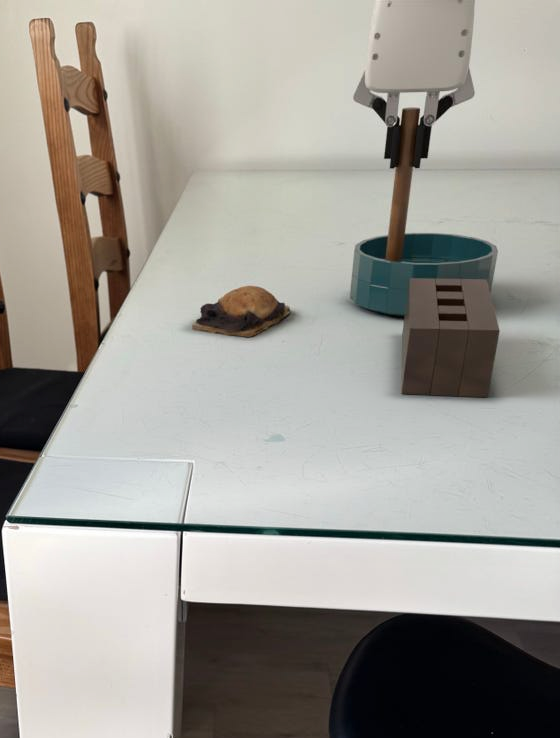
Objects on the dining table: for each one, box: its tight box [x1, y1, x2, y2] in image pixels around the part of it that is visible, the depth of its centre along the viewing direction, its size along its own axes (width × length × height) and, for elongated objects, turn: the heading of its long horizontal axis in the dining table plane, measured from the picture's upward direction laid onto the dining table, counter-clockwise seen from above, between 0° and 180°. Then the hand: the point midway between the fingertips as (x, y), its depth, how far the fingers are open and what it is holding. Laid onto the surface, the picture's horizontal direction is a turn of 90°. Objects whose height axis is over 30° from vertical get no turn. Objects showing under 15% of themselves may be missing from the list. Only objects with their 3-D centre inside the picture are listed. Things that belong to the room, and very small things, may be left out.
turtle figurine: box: [191, 285, 291, 338], centre depth 111 cm, size 11×8×4 cm
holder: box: [400, 278, 501, 398], centre depth 95 cm, size 7×17×6 cm, turn 165°
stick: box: [385, 106, 421, 262], centre depth 110 cm, size 2×2×18 cm
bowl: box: [349, 232, 499, 318], centre depth 113 cm, size 15×15×6 cm
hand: (404, 165), depth 108 cm, fingers closed on stick, 1 cm apart
